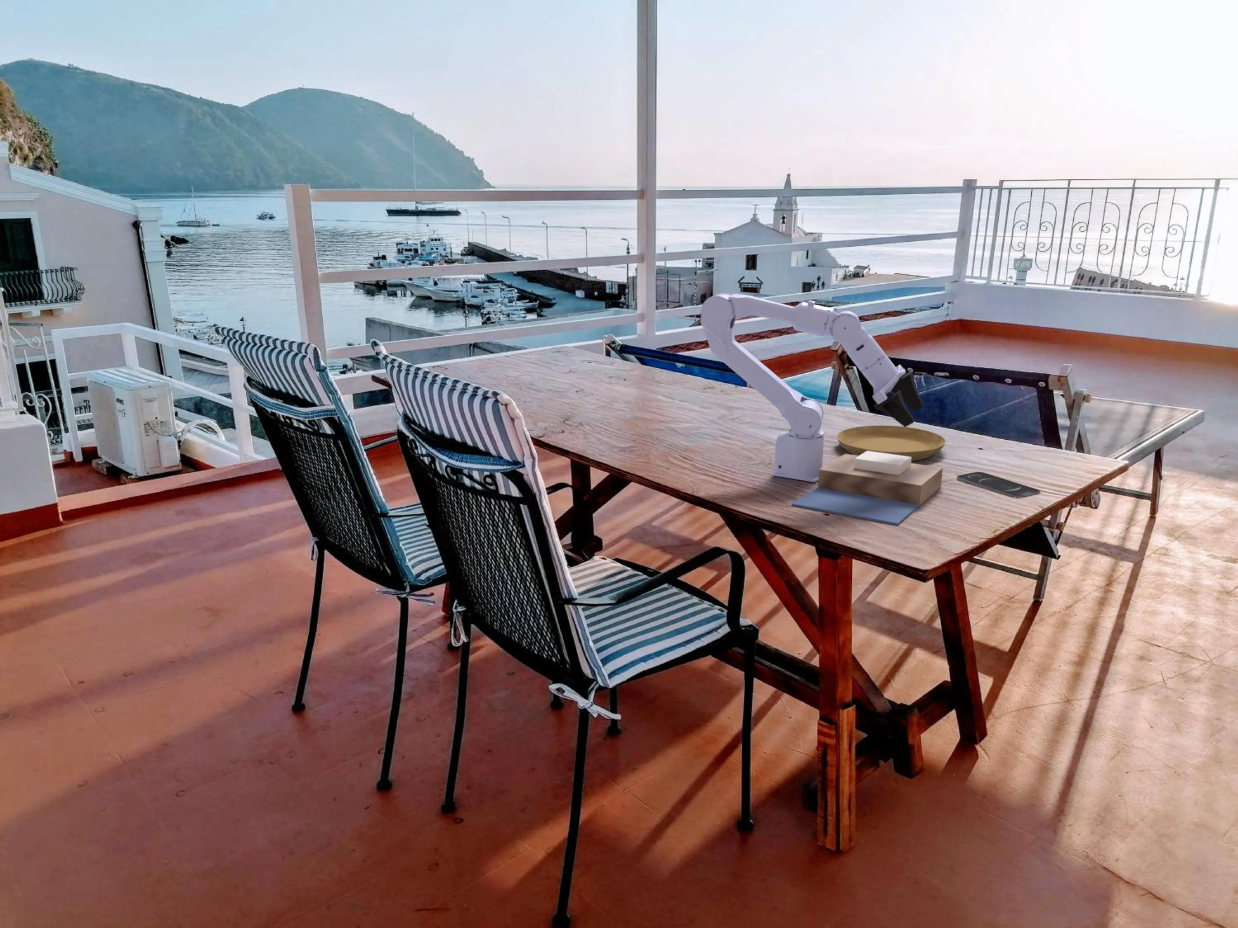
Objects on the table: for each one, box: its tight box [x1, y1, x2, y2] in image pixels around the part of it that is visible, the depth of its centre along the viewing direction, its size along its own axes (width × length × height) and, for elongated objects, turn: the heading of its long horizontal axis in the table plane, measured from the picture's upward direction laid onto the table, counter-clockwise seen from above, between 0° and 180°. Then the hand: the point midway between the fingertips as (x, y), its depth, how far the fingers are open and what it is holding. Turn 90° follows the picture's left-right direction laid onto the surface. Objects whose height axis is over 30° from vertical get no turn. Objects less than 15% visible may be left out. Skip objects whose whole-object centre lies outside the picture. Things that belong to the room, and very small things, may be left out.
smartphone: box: [956, 471, 1041, 499], centre depth 167 cm, size 8×1×15 cm
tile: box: [854, 451, 912, 475], centre depth 167 cm, size 9×7×2 cm
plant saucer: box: [836, 424, 947, 462], centre depth 195 cm, size 24×24×3 cm
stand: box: [817, 453, 944, 507], centre depth 167 cm, size 20×14×4 cm
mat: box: [791, 486, 920, 526], centre depth 157 cm, size 20×12×1 cm, turn 54°
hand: (914, 416), depth 167 cm, fingers open, 7 cm apart
